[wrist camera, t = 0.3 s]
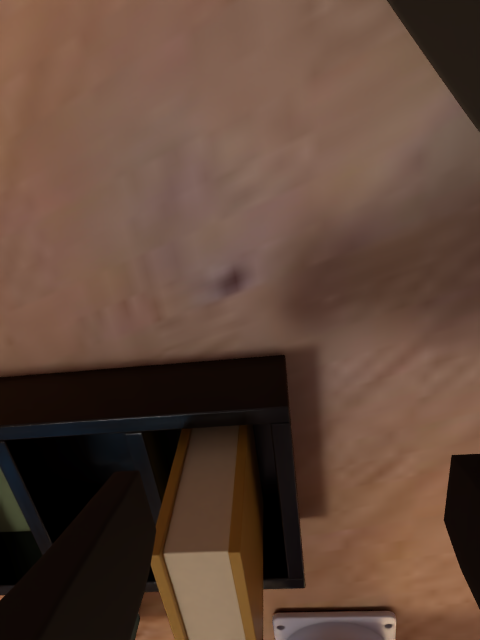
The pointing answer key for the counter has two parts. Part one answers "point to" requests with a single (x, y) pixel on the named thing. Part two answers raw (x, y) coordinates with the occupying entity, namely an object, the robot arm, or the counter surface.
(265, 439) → the caddy
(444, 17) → the magazine
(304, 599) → the counter surface
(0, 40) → the counter surface
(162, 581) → the mustard book
